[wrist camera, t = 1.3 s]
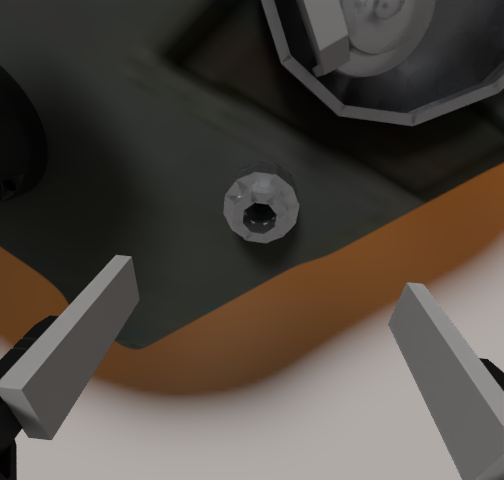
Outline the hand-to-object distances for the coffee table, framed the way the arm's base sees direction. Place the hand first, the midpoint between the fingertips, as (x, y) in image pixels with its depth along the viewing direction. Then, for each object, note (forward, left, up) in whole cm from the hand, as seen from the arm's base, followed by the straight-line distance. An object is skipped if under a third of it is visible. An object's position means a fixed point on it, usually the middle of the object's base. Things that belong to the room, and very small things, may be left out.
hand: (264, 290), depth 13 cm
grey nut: (-1, -1, -17) cm, 17 cm away
